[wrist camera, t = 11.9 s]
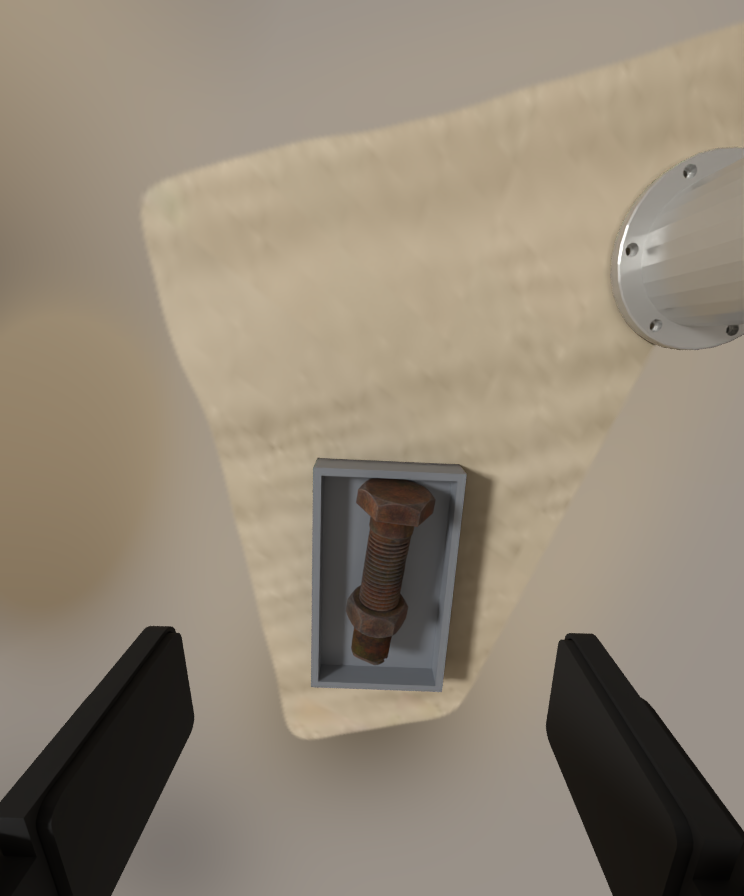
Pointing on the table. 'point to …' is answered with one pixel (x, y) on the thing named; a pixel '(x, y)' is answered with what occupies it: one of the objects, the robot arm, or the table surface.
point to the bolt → (385, 563)
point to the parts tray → (423, 585)
